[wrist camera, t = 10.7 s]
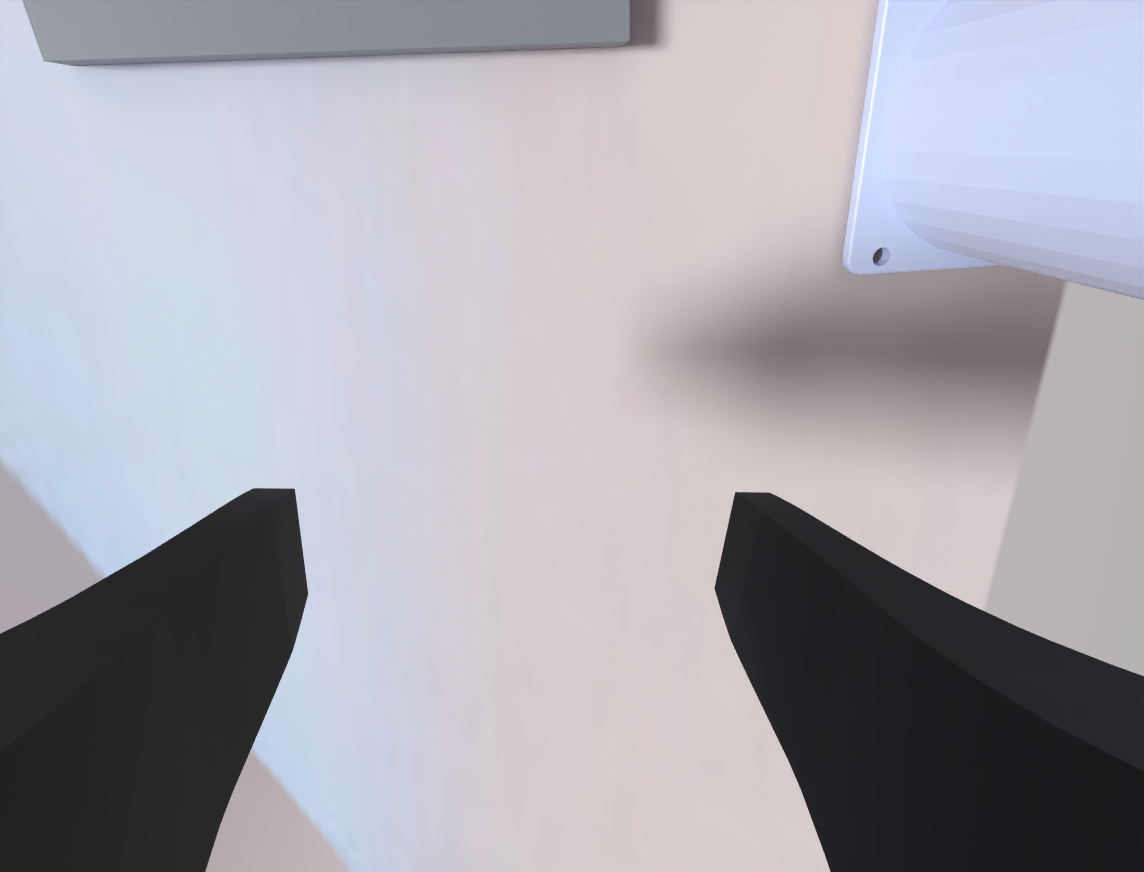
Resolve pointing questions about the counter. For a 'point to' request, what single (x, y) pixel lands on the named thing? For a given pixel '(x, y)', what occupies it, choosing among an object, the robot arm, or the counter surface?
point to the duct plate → (314, 28)
